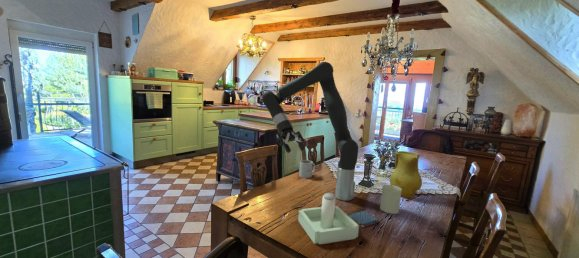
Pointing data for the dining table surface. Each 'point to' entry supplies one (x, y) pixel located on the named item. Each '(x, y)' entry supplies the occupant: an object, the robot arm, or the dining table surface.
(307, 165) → the mug
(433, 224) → the dining table surface
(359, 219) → the woven mat
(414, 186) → the pitcher
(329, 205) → the salt shaker
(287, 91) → the robot arm
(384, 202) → the can
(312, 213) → the sage bin
